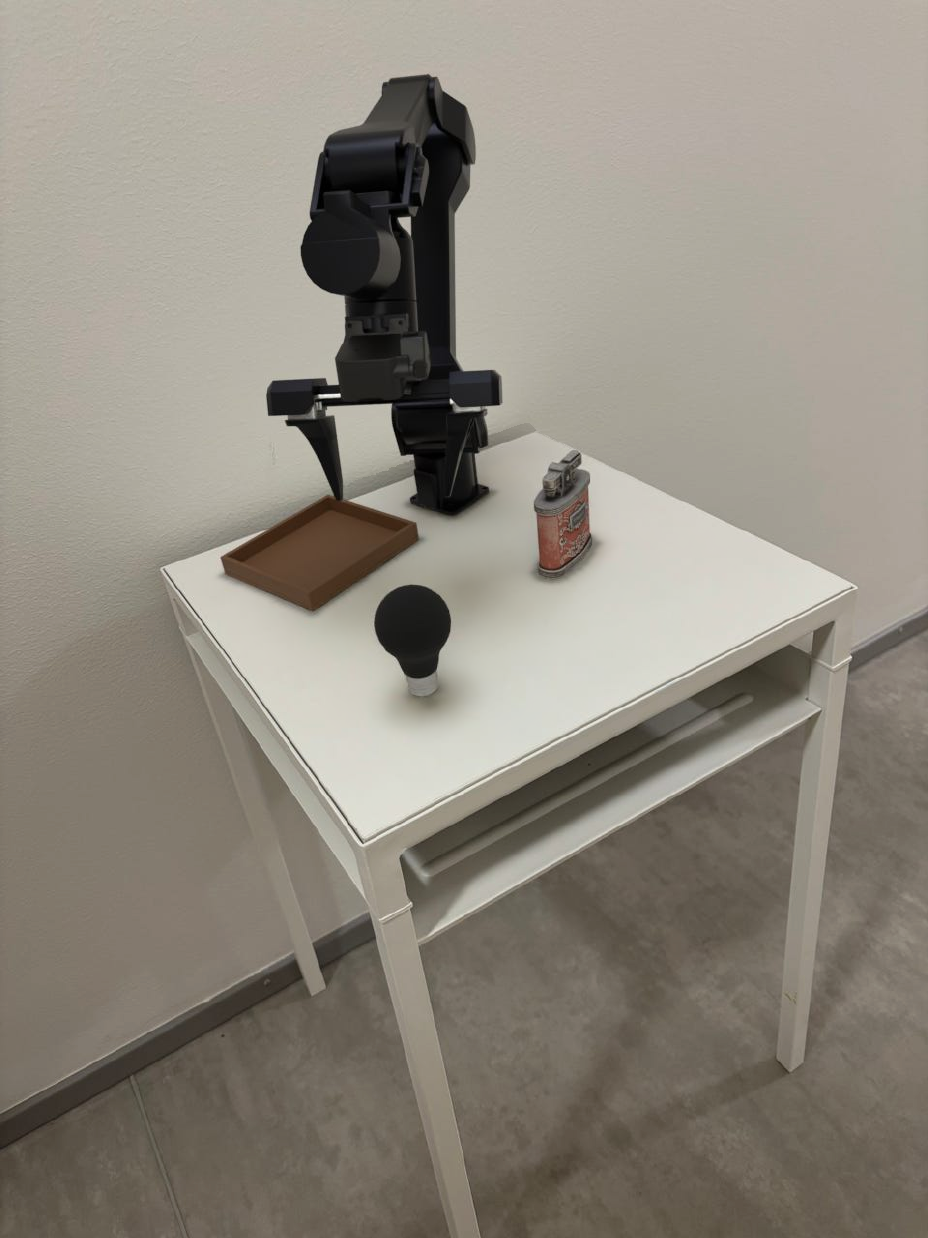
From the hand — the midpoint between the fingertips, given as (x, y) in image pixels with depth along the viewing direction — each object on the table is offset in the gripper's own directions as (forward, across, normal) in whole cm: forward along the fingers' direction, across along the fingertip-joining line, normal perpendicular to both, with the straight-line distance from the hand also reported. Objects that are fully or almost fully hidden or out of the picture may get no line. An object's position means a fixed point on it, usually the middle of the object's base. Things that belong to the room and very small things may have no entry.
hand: (393, 498), depth 80 cm
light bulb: (+15, +3, -7) cm, 17 cm away
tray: (+7, -10, +14) cm, 19 cm away
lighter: (+8, +14, +11) cm, 20 cm away
